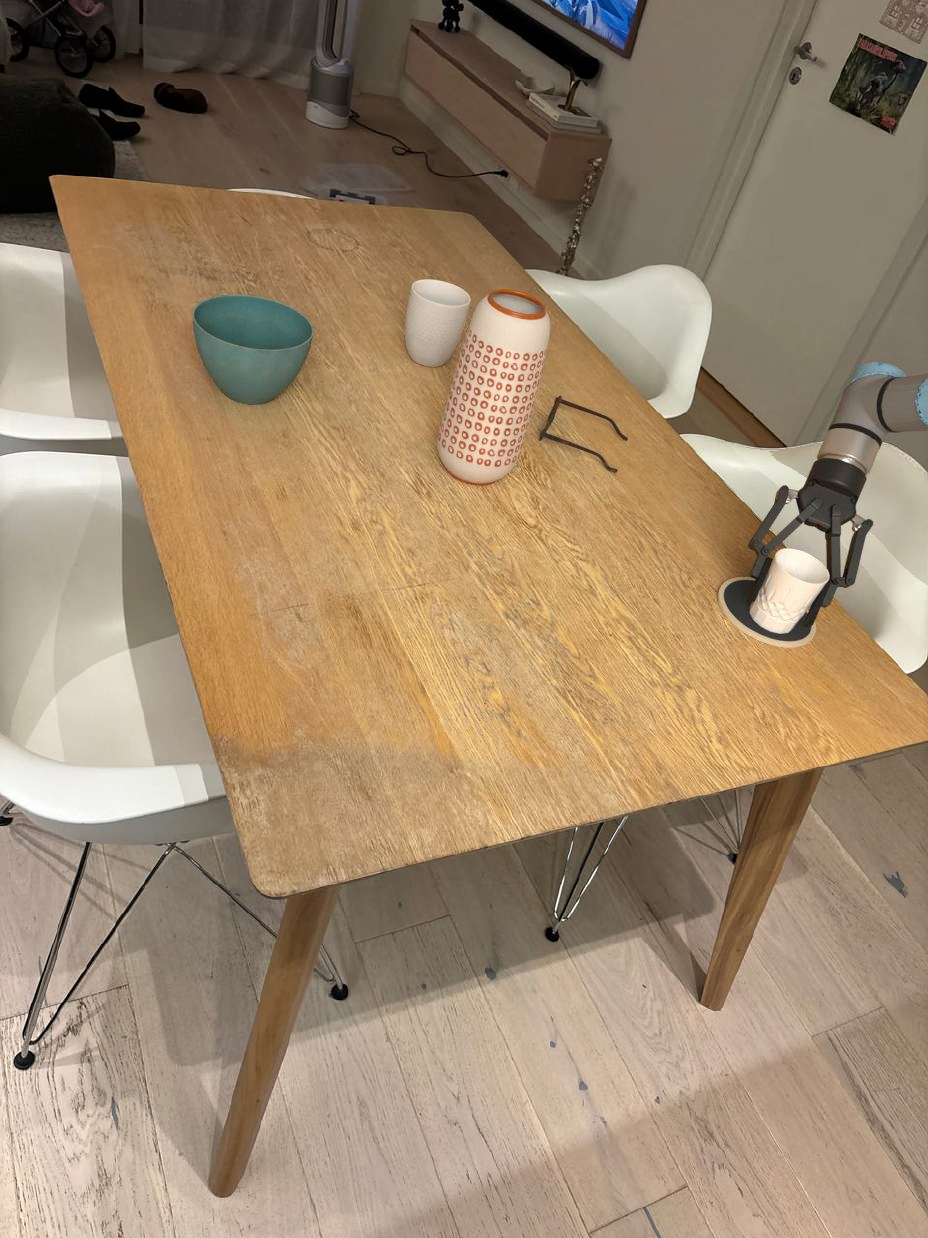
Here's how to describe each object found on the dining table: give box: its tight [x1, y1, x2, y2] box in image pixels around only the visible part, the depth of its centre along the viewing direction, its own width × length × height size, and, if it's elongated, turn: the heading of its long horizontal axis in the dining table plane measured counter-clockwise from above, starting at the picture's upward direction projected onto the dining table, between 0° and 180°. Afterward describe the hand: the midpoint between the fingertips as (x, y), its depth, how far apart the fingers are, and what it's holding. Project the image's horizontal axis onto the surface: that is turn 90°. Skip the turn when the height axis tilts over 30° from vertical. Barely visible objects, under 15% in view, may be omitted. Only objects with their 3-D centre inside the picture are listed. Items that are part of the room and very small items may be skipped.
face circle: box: [717, 576, 817, 649], centre depth 135 cm, size 15×15×1 cm
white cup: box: [749, 547, 830, 634], centre depth 130 cm, size 8×8×10 cm
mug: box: [404, 278, 472, 368], centre depth 170 cm, size 15×11×13 cm
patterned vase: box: [436, 288, 552, 486], centre depth 138 cm, size 13×13×28 cm
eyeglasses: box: [538, 395, 629, 473], centre depth 160 cm, size 15×15×5 cm
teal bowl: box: [192, 294, 315, 405], centre depth 145 cm, size 18×18×12 cm
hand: (779, 613), depth 129 cm, fingers closed on white cup, 8 cm apart
